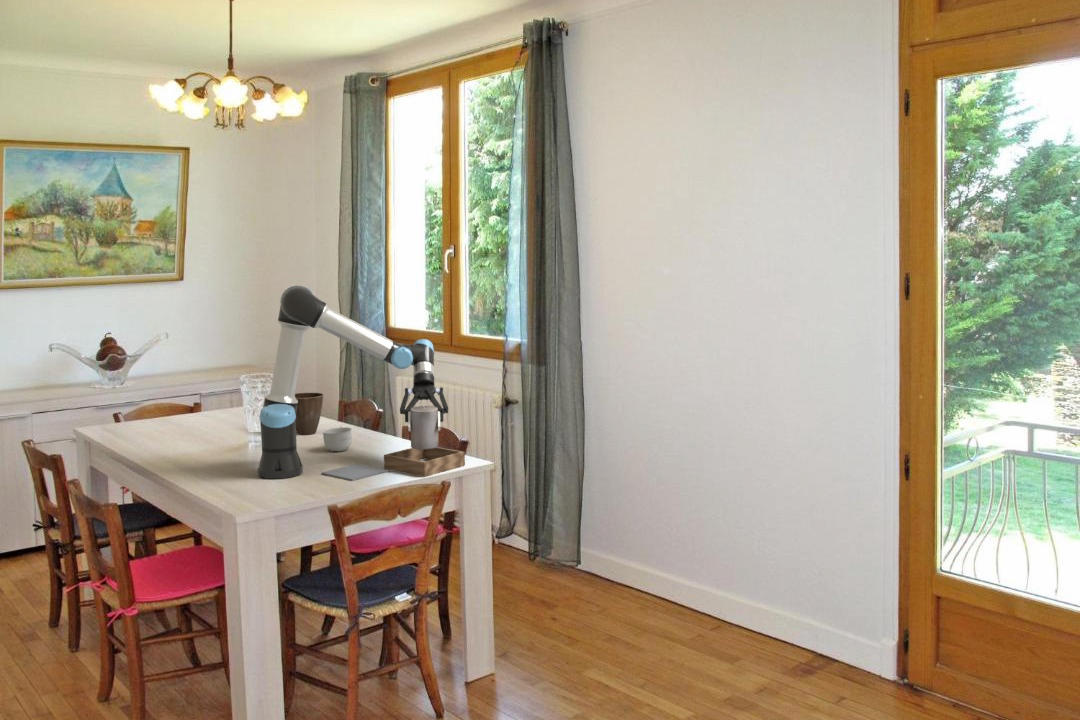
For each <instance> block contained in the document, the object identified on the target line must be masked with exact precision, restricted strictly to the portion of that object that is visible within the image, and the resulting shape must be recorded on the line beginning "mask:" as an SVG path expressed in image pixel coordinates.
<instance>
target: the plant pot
mask: <svg viewBox="0 0 1080 720" xmlns="http://www.w3.org/2000/svg"><path fill="white" fill-rule="evenodd" d="M295 398H296V399H297V401H298V405H297V411H296V418H295V421H296V434H297V435H299V434H300V435H299V436H308V434H310V435H313V434H316V433H317V431H318V427H319V424H320V419H321V415H322V410H323V401H324V394H323V393H321V392H298V393H295Z"/></svg>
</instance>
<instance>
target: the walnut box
mask: <svg viewBox="0 0 1080 720" xmlns="http://www.w3.org/2000/svg"><path fill="white" fill-rule="evenodd" d="M423 460H424V461H423ZM464 465H465V466H466V454H465V451H464V450H463V451H462V450H457V449H451V448H444V447H440V446H438V447H437V448H433V449H423V450H421V449H414V448H411V447H410V448H406V449H403V450H398V451H394V452H390V453H386V454H383V469H386V470H388V471H393V472H397V473H402V474H408V475H413V476H418V477H422V478H426V477H429V476H433V474H434V475H437V474H440V472H441V473H443V472H448V471H451V470H455V469H458V468H462V467H464ZM461 466H462V467H461ZM447 470H448V471H447ZM436 473H437V474H436Z"/></svg>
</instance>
